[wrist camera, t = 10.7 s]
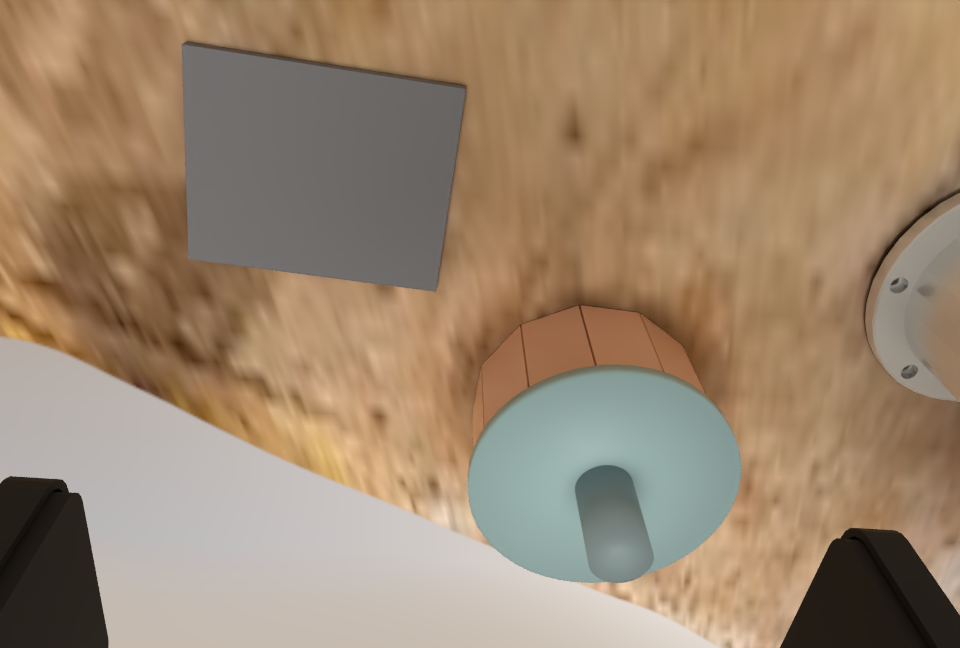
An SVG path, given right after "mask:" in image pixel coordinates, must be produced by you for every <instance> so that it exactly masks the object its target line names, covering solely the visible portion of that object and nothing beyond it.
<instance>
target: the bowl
mask: <svg viewBox="0 0 960 648" xmlns="http://www.w3.org/2000/svg"><path fill="white" fill-rule="evenodd" d="M521 326H522V327H521ZM521 326H519V327H518V328H517V329H516V330H515V331H514V332H513V333H512V334H511V335H510V336H509V337H508V338H507V339H506V340H505V341H504V342H503V343H502V344H501V345H500V347H499V348H498V349H497V350H496V351H495V352H494V353H493V354H492V355H491V356H490V357H489V358H488V359H487V360H486V361H485V362H484V363H483V364H482V367H481V369H480V375H479V380H478V385H477V390H476V396H475V401H474V406H473V411H472V426H473V448H474V446H475V444H476V441H477V439H478V437H479V435H480V433H481V432H482V430H483V429H484V427H485V426H486V424H487V423H488V421H489V420H490V419H491V418H492V417H493V416H494V415H495V413H496V412H497V411H498V410H499V409H500V408H501V407H502V406H504V405H505V404H506V403H507V402H508V401H509V400H510V399H512V398H513V397H514V396H516V395H517V394H519V393H520V392H522V391H523V390H525V389H526V388H528V387H530V386H532V385H534V384H536V383H538V382H540V381H542V380H544V379H546V378H549V377H551V376H554V375H557V374H559V373H563V372H566V371H570V370H574V369H578V368H583V367H590V366H596V365H614V364H619V365H634V366H640V367H646V368H651V369H656V370H659V371H662V372H665V373H668V374H671V375H674V376H676V377H678V378H680V379H682V380H684V381H686V382H688V383H690V384H691V385H693V386H694V387H696V388H697V389H699V390H700V391H702V392H703V393H704V394H705V392H704V390H703V388H702V386H701V383H700V381H699V379H698V377H697V375H696V373H695V371H694V369H693V367H692V364H691V362H690V360H689V358H688V356H687V354H686V352H685V350H684V348H683V346H682V345H681V344H680V343H679V342H677V341H676V340H675V339H673V338H672V337H671V336H669V335H668V334H667V333H666V332H664V331H663V330H662V329H660V328H659V327H658V326H656V325H655V324H654V323H652V322H651V321H650V320H649V319H647V318H646V317H645V316H643V315H642V314H639V313H637V312H629V311H622V310H614V309H607V308H599V307H591V306H584V305H580V309H579V306H575V307H572V308H569V309H566V310H563V311H560V312H557V313H554V314H551V315H548V316H545V317H542V318H539V319H536V320H533V321H530V322H527V323H524V324H521ZM705 395H706V394H705Z"/></svg>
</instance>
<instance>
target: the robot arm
mask: <svg viewBox="0 0 960 648" xmlns="http://www.w3.org/2000/svg"><path fill="white" fill-rule="evenodd" d="M865 325H866V331H867V338H868V341H869V344H870V346H871V348H872V351H873V353H874V355H875V357H876V358H877V359H878V361H879V362H880V363H881V365H882V366H883V367H884V368H885V370H886V371H887V372H888V373H889V374H890V375H891V376H892V377H893V378H894V379H895V380H896V381H897V382H898V383H899V384H901V385H903V386H904V387H906V388H908V389H910V390H911V391H913V392H915V393H917V394H920V395H924V396H927V397H930V398H933V399H940V400H948V401H959V403H960V193H958V194H956V195H954V196H953V197H951V198H949V199H947V200H945V201H944V202H942V203H940V204H939V205H938V206H936V207H935V208H933V209H932V210H931V211H929V212H928V213H927V214H925V215H924V216H923V217H921V218H920V219H919V220H918V221H917V222H916V223H915V224H914V225H913V226H912V227H911V228H910V229H909V230H908V231H907V232H906V233H905V234H904V235H903V236H902V237H901V238H900V239H899V240H898V241H897V243H896V244H895V245H894V247H893V248H892V249H891V251H890V252H889V253H888V255H887V256H886V257H885V259H884V260H883V262H882V264H881V266H880V268H879V270H878V272H877V274H876V276H875V278H874V280H873V283H872V286H871V289H870V292H869V296H868V299H867V305H866V316H865ZM0 648H108V635H107V629H106V624H105V619H104V614H103V608H102V603H101V597H100V592H99V587H98V582H97V576H96V571H95V565H94V560H93V554H92V550H91V544H90V538H89V533H88V527H87V522H86V517H85V511H84V507H83V501H82V498H81V496H80V495H79V493H69V491H68V488H67V485H66V483H65V482H64V481H63V480H59V479H44V478H27V477H12V476H10V477H8V478H6V479H4V480H3V481H2V482H1V483H0ZM780 648H960V615H959V614H958V612H957V611H956V609H955V608H954V606H953V605H952V604H951V602H950V601H949V599H948V598H947V596H946V595H945V593H944V592H943V591H942V589H941V588H940V586H939V585H938V583H937V582H936V580H935V579H934V578H933V576H932V575H931V573H930V572H929V570H928V569H927V567H926V566H925V565H924V563H923V562H922V560H921V559H920V557H919V556H918V554H917V553H916V552H915V550H914V549H913V547H912V546H911V544H910V543H909V541H908V540H907V539H906V538H905V537H904V536H903V535H902V534H901V533H899V532H897V531H894V530H878V529H862V528H850V529H848V530H847V531H845V533H844V534H843V535H842V537H841V539H835V540H833V541H832V543H831V544H830V546H829V548H828V550H827V552H826V554H825V556H824V558H823V560H822V562H821V564H820V566H819V568H818V570H817V573H816V575H815V577H814V579H813V581H812V583H811V585H810V587H809V589H808V591H807V593H806V595H805V597H804V599H803V601H802V604H801V606H800V608H799V610H798V612H797V614H796V616H795V618H794V620H793V622H792V624H791V626H790V628H789V630H788V632H787V635H786V637H785V639H784V641H783V643H782V645H781V647H780Z"/></svg>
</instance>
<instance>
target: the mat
mask: <svg viewBox="0 0 960 648" xmlns="http://www.w3.org/2000/svg"><path fill="white" fill-rule="evenodd" d="M182 61H183V93H184V125H185V157H186V189H187V221H188V253H189V259H191V260H199V261H207V262H214V263H222V264H230V265H237V266H245V267H252V268H260V269H268V270H275V271H283V272H291V273H298V274H306V275H313V276H321V277H329V278H336V279H344V280H352V281H359V282H367V283H374V284H382V285H390V286H397V287H405V288H413V289H420V290H428V291H435V292H436V288H437V281H438V274H439V268H440V261H441V254H442V247H443V241H444V234H445V227H446V220H447V214H448V207H449V200H450V193H451V187H452V180H453V173H454V166H455V160H456V153H457V146H458V139H459V132H460V126H461V119H462V112H463V105H464V99H465V92H466V86H463V85H457V84H451V83H445V82H438V81H432V80H426V79H419V78H413V77H407V76H400V75H394V74H388V73H381V72H375V71H369V70H362V69H356V68H350V67H343V66H337V65H331V64H324V63H318V62H312V61H305V60H299V59H293V58H286V57H280V56H274V55H267V54H261V53H255V52H248V51H242V50H236V49H229V48H223V47H217V46H210V45H204V44H198V43H191V42H185V43H183V44H182Z"/></svg>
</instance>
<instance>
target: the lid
mask: <svg viewBox="0 0 960 648" xmlns="http://www.w3.org/2000/svg"><path fill="white" fill-rule="evenodd" d="M740 478H741V458H740V453H739V447H738V445H737V442H736V439H735V437H734V434H733V432H732V430H731V428H730V426H729V424H728V422H727V421H726V419H725V417H724V415H723V414H722V412H721V411H720V410H719V408H718V407H717V406H716V405H715V404H714V402H713V401H712V400H711V399H710V398H709V397H707V396H706V395H705V394H704V393H703V392H702V391H700V390H699V389H697V388H696V387H694V386H693V385H691V384H690V383H688V382H686V381H684V380H682V379H680V378H678V377H676V376H674V375H671V374H668V373H665V372H662V371H659V370H656V369H651V368H646V367H640V366H634V365H619V364H614V365H596V366H590V367H583V368H578V369H574V370H570V371H566V372H563V373H559V374H557V375H554V376H551V377H549V378H546V379H544V380H542V381H540V382H538V383H536V384H534V385H532V386H530V387H528V388H526V389H525V390H523V391H522V392H520V393H519V394H517V395H516V396H514V397H513V398H512V399H510V400H509V401H508V402H507V403H506V404H505V405H504V406H502V407H501V408H500V409H499V410H498V411H497V412H496V413H495V415H494V416H493V417H492V418H491V419H490V420H489V421H488V423H487V424H486V426H485V427H484V429H483V430H482V432H481V433H480V435H479V437H478V439H477V441H476V444H475V446H474V448H473V451H472V455H471V458H470V462H469V470H468V495H469V503H470V507H471V512H472V515H473V517H474V519H475V522H476V524H477V526H478V528H479V529H480V531H481V532H482V534H483V536H484V537H485V538H486V539H487V541H488V542H489V543H490V544H491V545H492V546H493V547H494V548H495V549H496V550H497V551H498V552H500V553H501V554H502V555H503V556H504V557H506V558H508V559H509V560H510V561H512V562H513V563H515V564H517V565H519V566H521V567H523V568H525V569H527V570H529V571H531V572H534V573H537V574H540V575H543V576H546V577H550V578H554V579H558V580H564V581H571V582H586V583H596V582H612V583H623V582H628V581H632V580H635V579H637V578H639V577H641V576H642V575H645V574H648V573H651V572H654V571H656V570H659V569H661V568H663V567H666V566H668V565H670V564H672V563H674V562H676V561H677V560H679V559H681V558H683V557H685V556H686V555H688V554H689V553H690V552H692V551H693V550H695V549H696V548H698V547H699V546H700V545H701V544H702V543H703V542H704V541H706V540H707V539H708V538H709V537H710V536H711V535H712V534H713V533H714V532H715V530H716V529H717V528H718V527H719V526H720V525H721V523H722V522H723V520H724V519H725V517H726V516H727V515H728V513H729V511H730V509H731V507H732V505H733V503H734V501H735V498H736V495H737V492H738V489H739V484H740Z"/></svg>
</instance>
